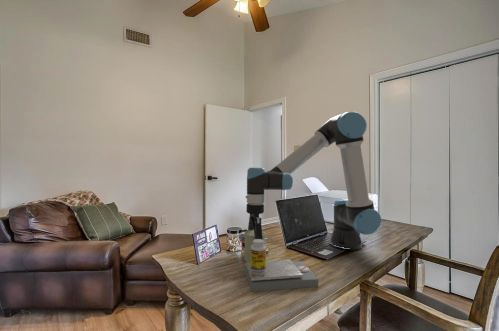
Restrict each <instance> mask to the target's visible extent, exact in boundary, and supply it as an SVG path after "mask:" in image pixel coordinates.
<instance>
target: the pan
mask: <svg viewBox="0 0 499 331" xmlns="http://www.w3.org/2000/svg"><path fill="white" fill-rule="evenodd" d="M244 262H245V264H244V266H245V265H246V268H247V270H248V273H249V276H250V278H251V281H256V280H270V279H284V278H297V277H303V274H302V273H301V272H300V271H299V270H298V268H297V267H296V266H295V265H294V264H293V262H294V261H292V260H291V259H280V260H266V269H265V270H264V271H261V272H255V271H253V270H251V268H250V262H246V261H244Z"/></svg>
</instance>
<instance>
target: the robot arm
mask: <svg viewBox="0 0 499 331" xmlns="http://www.w3.org/2000/svg"><path fill="white" fill-rule="evenodd" d="M367 125H368V124H367V121H366V118H365V116H363V115H362V114H361V113H359V112H357V111H346V112H342V113H341V114H338V115H335V116H333V117H330V118H329V119H328V120H327V121H326V122H324V123H323V124H322V125H321V127H319V128H318V129H317V130H316V131H314V135H312V136H311V137H310V138H309V139H308V140H306V141H305V142H304V143H303V144H301V145H300V146H299V147H298V148H296V149H295V150H294V151H293V152H291V153H290V154H289V155H287V156H286V157H285V158H283V160H282V161H280V162H279V163H278V164H277V165H275V166H273V168H272V169H270V170H268V171H266V169H265V168H264V167H249V168H248V169H247V171H246V172H247V173H246V174H247V175H246V195H245V198H246V213H247V214H249V218H248V226H247V231H248V230H254V236H255V239H262V240H263V238H262V231H263V228H262V227H263V226H262V217H260V215H262V214H264V213H265V205H264V204H265V190H271V191H276V190H277V191H289V190H291V189H292V188H293V184H294V182H293V181H294V179H293V178H294V177H293V174H292V173H294V172H295V171H296V170H297V169H299V168H301V166H302V165H305V163H307V162H308V161H309V160H310V159H311V158H312V157H314V156H315V155H316V154H317V153H319V152H320V151H322V149H324V148H328V147H330V146H331V145H332V144H334V143H335V146H336V147H338V148H339V150H340V155H341V163H342V169H343V175H344V182H345V189H346V194H347V199H337V200H335V201H334V202H333V230H332V233H331V235H330V238H329V244H330V243H332V244H333V245H336V246H339V247H344V248H350V250H349V251H358V250H361V249H362V247H363V241H362V239H361V236H360V234H361V235H365V236H366V235H367V236H369V235H372V234H374V233H375V232H377V230H378V229H379V228H380V227H381V224H382V218H381V217H382V216H381V215H380V213H379V211H377V210H376V209H375V206H374V201H373V200H371V199H370V198H369V192H368V187H367V186H368V185H367V179H366V178H367V177H366V173H365V166H364V165H365V164H364V159H363V153H362V144H363V142H364V141H365V140H364V134H366V131H367V128H368V126H367ZM245 198H244V199H245Z"/></svg>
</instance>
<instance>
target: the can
mask: <svg viewBox="0 0 499 331" xmlns="http://www.w3.org/2000/svg"><path fill="white" fill-rule="evenodd" d="M262 238H263V240H264V245H265V246H266V232H265V231H264V230H262ZM253 240H255V236H254V230H248V229H247V230H245V231H244V257H243V259H244V262H250V254H251V246H252V245H253Z"/></svg>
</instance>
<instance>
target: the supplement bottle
mask: <svg viewBox="0 0 499 331" xmlns="http://www.w3.org/2000/svg"><path fill="white" fill-rule="evenodd" d="M266 261H267V246H266V244H265V245H264V240H262V239H255V240H253V245H252V246H251V254H250V268H251V270H253V271H255V272H261V271H264V270H265V269H266Z"/></svg>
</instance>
